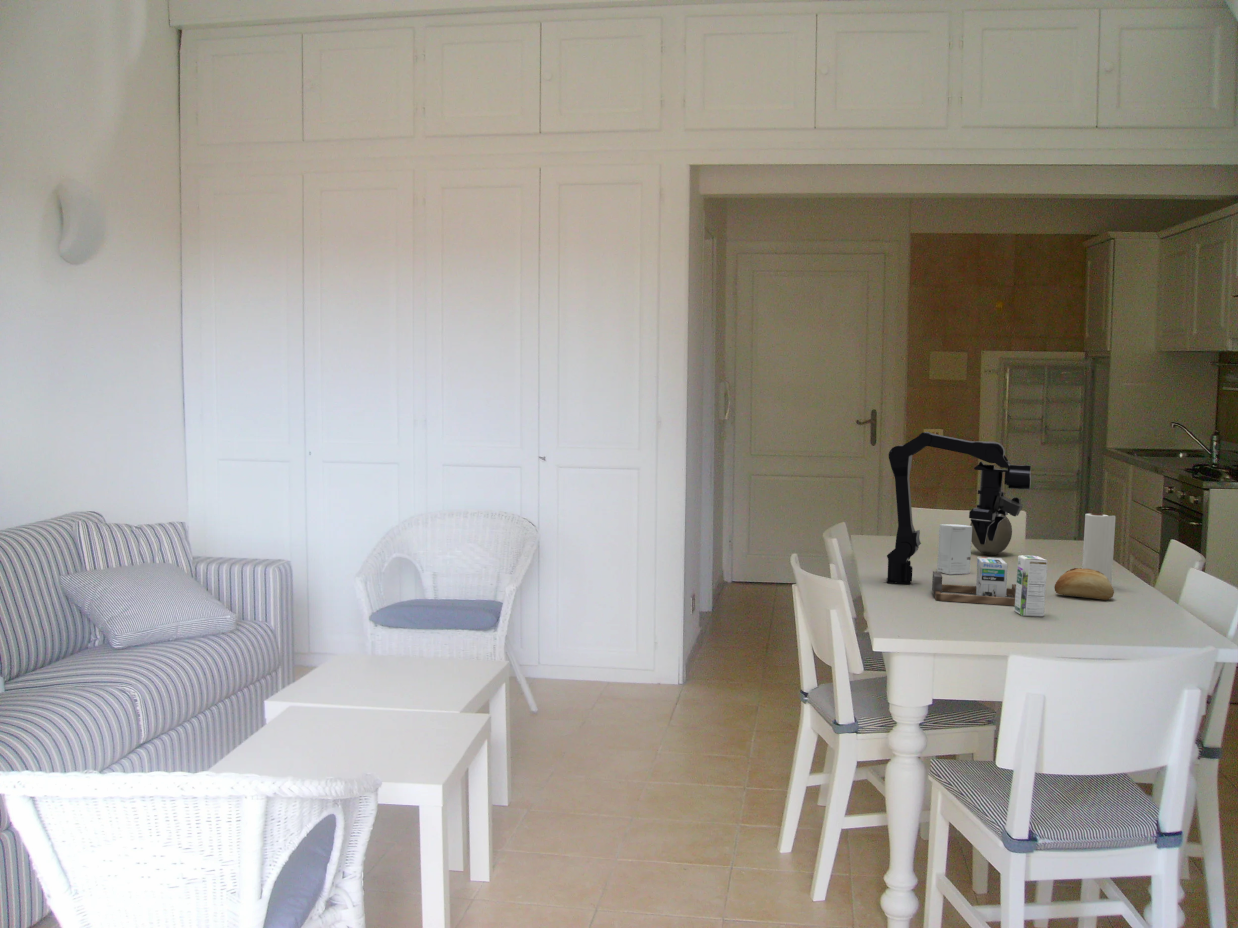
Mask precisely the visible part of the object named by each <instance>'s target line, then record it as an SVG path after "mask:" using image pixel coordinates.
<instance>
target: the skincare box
mask: <svg viewBox="0 0 1238 928" xmlns="http://www.w3.org/2000/svg"><path fill="white" fill-rule="evenodd" d="M938 532H939V533H938V547H937V548H938V549H937V569H936V572H941V574H942V573H943V574H946V575H950V576H951V575H961V574H962V575H966V574H967V575H968V574H970V573H971V557H972V556H971V554H972V542H971V541H972V526H970V525H965V524H957V523H956V524H955V523H954V524H950V523H948V524H946V523H943V524H942V523H941V524H939V531H938Z"/></svg>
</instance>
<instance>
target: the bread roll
mask: <svg viewBox="0 0 1238 928" xmlns="http://www.w3.org/2000/svg"><path fill="white" fill-rule="evenodd" d="M1053 587H1054V592H1055V594H1057V595H1060V596H1065V597H1066V596H1067V597H1075V598H1076V597H1077V598H1084V599H1085V598H1087V599H1096V600H1101V601H1108V600H1111V599H1112V598H1113V597H1114V594H1115V590H1114V587H1113V585H1111V583H1110V581H1109V580H1108V578H1107V577H1106V576H1105V575H1104V574H1103V573H1100V572H1099V571H1096V570H1092V569H1082V567H1081V568H1078V567H1073V568H1071V569H1069V570H1066V571H1065V572H1064V573H1063V574H1062V575H1060V576H1059V577H1058V579H1057V580H1056V582H1055V584H1054V586H1053Z"/></svg>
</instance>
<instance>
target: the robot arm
mask: <svg viewBox="0 0 1238 928" xmlns="http://www.w3.org/2000/svg"><path fill="white" fill-rule="evenodd" d="M926 447H931V448H935V449H941V450H947V451H950V452H955V453H960V454H966V455H969V456H971V457H974V458H976V459H979V460H980V461H979V463H978V464H977V465H976V466H974V468H973V470H974V471H980V480H979V481H980V483H979V484H980V485H979V489H978V490H977V494H978V495H979V497H978V504H977V505H976V507H974V508H972V509H971V510H970V511H969V513H968V514H969V515H968V518H969V519H970V522H971V521H972V524H973V526H974V528H975V531H976V533H977V536H978V539H979V541H980V544H983V545H984V544H985V541H986V538H987V535H988V539H989V541H993V540H994V537H995V534H996V531H997V528H998V525H999V523H1000V521H1002V520H1003V519H1004V518H1006V517H1007V516H1008V515H1010V516H1013V517H1017V516H1019V514H1020V513H1021V510H1022V509H1023V506H1024V505H1023V504H1022V501H1021V498H1020V497H1018V496H1015V497H1013V498H1009V497H1006V496H1005V492H1004V490H1002V489H1003V488H1002V487H1003V477H1004V485H1006V486H1008V489H1010V490H1011V489H1014V490H1026V491H1030V490H1031V486H1032V485H1031V483H1032V476H1031V473H1032V472H1031V471H1032V470H1031V469H1032V465H1031V464H1024V465H1021V464H1012V463H1011V462H1010V460H1009V459H1008V458H1007V456H1006V455H1005V454H1006V453H1005V452H1006V450H1005V447H1004V446H1003V444H1002V443H1000V442H998V441H976V440H975V441H974V440H973V441H972V440H967V439H962V438H957V437H952V436H947V435H946V436H945V435H943V434H942V435H941V434H936V433H932V432H930V431H922V432H921V433H920V434H919V435H917V436H916V437H914V438H912V439H911V440H910V441H907V442H906V443H905V444H899V445H895V446H893V447H892V448H891V449H890V450H889V452H888V461H889V464H890V467H891V471H892V474H893V476H894V484H895V496H896V497H895V498H896V511H897V513H896V514H897V532H896V537H895V546H894V548H893V550H891V551H890V552H888V554H887V555H886V559H887V576H886V583H887V584H899V585H902V584H903V585H911V582H912V581H913V566H912V565H911V560H910V559H911V557H912V556H914V555H915V554H916V553H917V552H918V550H919V547H920V545H921V544H922V543H921V540H920V534H921V531H920V529H918V530H915V526H914V524H913V512H912V511H913V510H912V509H913V508H912V499H911V498H912V497H911V494H912V493H911V483H910V482H911V481H910V476H911V475H910V474H911V470H912V462H913V456H914V455H915V454H917V453H918V452H920V451H921V450H923V449H925V448H926ZM983 461H984V462H986V463H988V464H985V463H984V462H983ZM989 463H990V464H989ZM995 465H996V466H998V467H999V468H996V466H995ZM1001 514H1003V515H1004V516H1001Z"/></svg>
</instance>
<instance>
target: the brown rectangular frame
mask: <svg viewBox="0 0 1238 928" xmlns="http://www.w3.org/2000/svg"><path fill="white" fill-rule="evenodd" d="M931 579H932V583H931V591H932V593H933V596H934V599H935V601H937V602H939V601H942V602H953V603H954V602H956V603H969V604H970V603H971V604H984V605H998V606H999V605H1000V606H1014V607H1015V594H1016V583H1011V587H1010V588H1009V587H1007V590H1006V597H992V596H977V595H976V585H962V584H948V583H947V584H946V583H945V584H944V583H943V575H942V572H938V571H932V578H931ZM942 592H943V593H942ZM944 592H946V593H944ZM948 592H949V593H948ZM959 593H961V594H959ZM962 593H963V594H962ZM964 593H965V594H964ZM974 594H975V595H974ZM1008 596H1010V597H1008Z"/></svg>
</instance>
